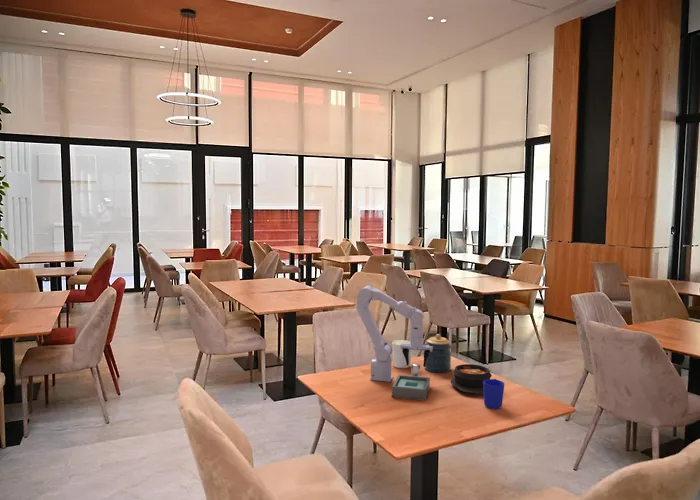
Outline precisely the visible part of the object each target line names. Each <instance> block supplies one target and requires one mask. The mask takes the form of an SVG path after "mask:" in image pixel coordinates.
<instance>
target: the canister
mask: <svg viewBox="0 0 700 500" xmlns="http://www.w3.org/2000/svg"><path fill="white" fill-rule="evenodd" d="M450 343H451V341H450V340H448V339H447V338H446V337H442V336H441V334H440V333H436V335H435V336H430V337H429V338H427V339H426V343H425V344H424V345H426V346H433V350H432V352H431V351H430V353H429V355H428V357H427V360H426V366H425V367H424V369H425V371H428V372H431V373H448V372H450V371H451V367H452V364H451V362H452V361H451V360H452V352H451V349H452V345H451V344H450Z"/></svg>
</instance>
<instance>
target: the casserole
mask: <svg viewBox="0 0 700 500" xmlns="http://www.w3.org/2000/svg"><path fill="white" fill-rule="evenodd" d="M452 374H453V377H452V378H451V380H450V384H451V385H452V386H454V387H456V388H457V389H458V390H459V392H464V393H467V394H468V393H469V394H484V391H483V381H484V380H487V379H491V378H492V376H493V375H492V373H491V371H490V369H489V368H487V367H485V366H483V365H481V364H480V365H479V364H471V363H470V364H469V363H465V364H459V365H456V366H455V367H454V369H453V371H452Z"/></svg>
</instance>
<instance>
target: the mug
mask: <svg viewBox="0 0 700 500" xmlns="http://www.w3.org/2000/svg"><path fill="white" fill-rule="evenodd" d="M483 391H484V393H483V404H484V406H485V407H486V408H488V409H492V410H499V409H501V408H502V406H503V401H504V392H505V382H504V381H502V380H499V379H496V378H492V379H491V378H490V379H487V380H484V381H483Z"/></svg>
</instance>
